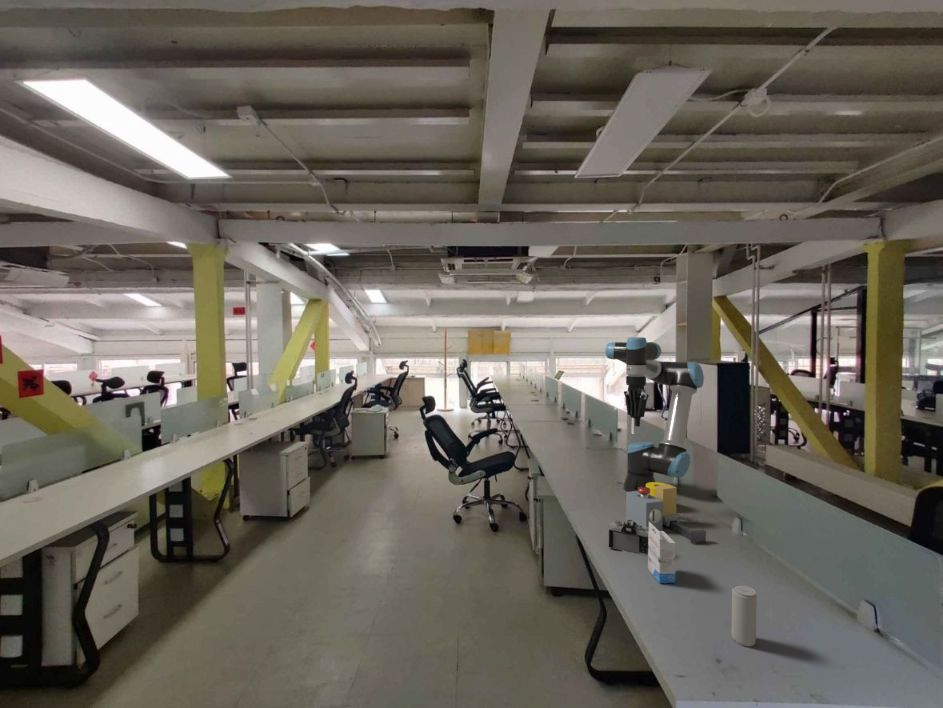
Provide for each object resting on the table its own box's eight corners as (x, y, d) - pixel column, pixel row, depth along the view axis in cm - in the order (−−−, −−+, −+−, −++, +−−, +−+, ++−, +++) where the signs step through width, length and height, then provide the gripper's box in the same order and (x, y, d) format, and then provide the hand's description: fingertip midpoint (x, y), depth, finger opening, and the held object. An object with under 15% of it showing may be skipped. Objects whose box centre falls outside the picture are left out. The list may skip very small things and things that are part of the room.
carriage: (666, 516, 171) (666, 482, 170) (681, 524, 163) (681, 489, 162) (651, 518, 169) (651, 484, 168) (665, 526, 161) (665, 490, 161)
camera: (658, 547, 146) (658, 518, 146) (655, 559, 139) (656, 528, 138) (610, 538, 154) (611, 510, 153) (606, 548, 146) (606, 519, 146)
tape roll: (640, 505, 185) (640, 483, 184) (659, 502, 188) (659, 481, 188) (657, 514, 175) (657, 491, 175) (677, 511, 178) (677, 488, 178)
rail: (660, 516, 172) (660, 506, 172) (705, 542, 150) (705, 531, 150) (649, 518, 171) (649, 508, 171) (693, 544, 149) (694, 532, 149)
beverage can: (726, 634, 103) (727, 584, 103) (745, 633, 103) (746, 583, 103) (740, 648, 98) (741, 596, 98) (761, 647, 98) (761, 595, 98)
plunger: (645, 506, 167) (645, 486, 167) (652, 510, 163) (652, 490, 163) (635, 507, 166) (635, 487, 166) (642, 511, 162) (642, 491, 161)
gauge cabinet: (641, 518, 171) (641, 490, 171) (664, 531, 159) (664, 502, 158) (625, 519, 169) (626, 492, 169) (647, 534, 157) (647, 503, 157)
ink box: (676, 583, 125) (677, 532, 124) (659, 583, 125) (659, 532, 124) (663, 568, 133) (663, 520, 133) (647, 568, 133) (647, 520, 133)
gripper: (618, 374, 180) (617, 431, 181) (638, 376, 167) (637, 437, 168) (633, 374, 182) (633, 430, 183) (654, 376, 169) (654, 436, 170)
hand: (635, 433), depth 175 cm, fingers closed
